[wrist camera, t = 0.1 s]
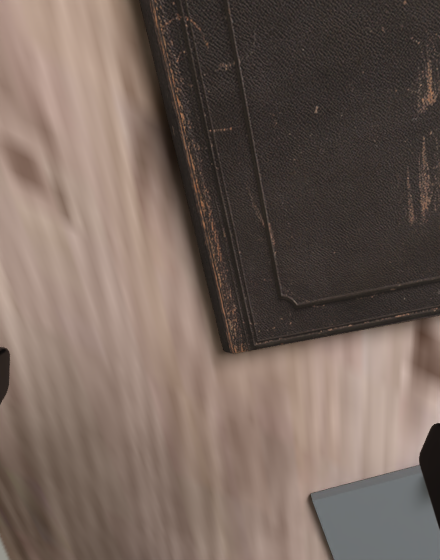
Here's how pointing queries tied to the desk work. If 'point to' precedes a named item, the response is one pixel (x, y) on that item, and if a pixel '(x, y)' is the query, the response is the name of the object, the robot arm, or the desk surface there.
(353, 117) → the hardcover book
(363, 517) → the pad
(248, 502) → the desk surface
